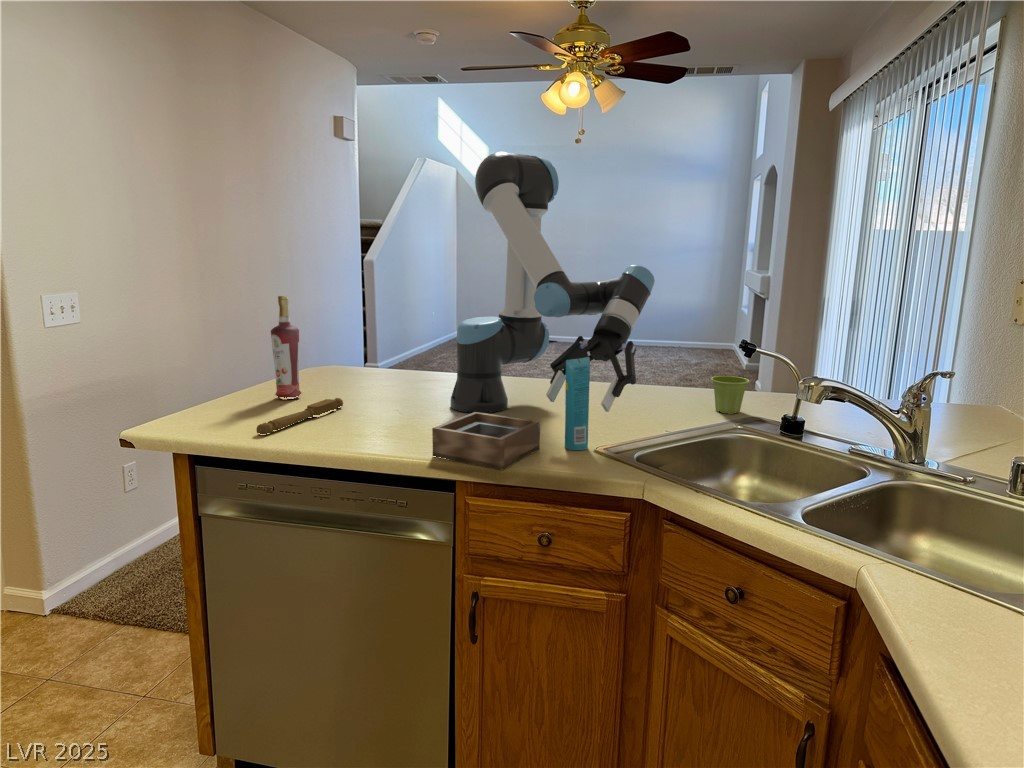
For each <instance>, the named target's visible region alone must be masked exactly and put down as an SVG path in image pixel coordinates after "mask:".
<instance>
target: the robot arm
mask: <svg viewBox="0 0 1024 768" xmlns="http://www.w3.org/2000/svg"><path fill="white" fill-rule="evenodd" d="M558 175H559V174H558V172H557V170H556V168H555V166H554V165H553V163H552V162H551V161H550V160H548V159H546V158H544V157H539V156H537V155H528V154H519V153H511V152H507V151H506V152H505V151H498V152H495V153H494V152H493V153H492V154H490V155H488V156H486V157H485V158H484V159H482V161H481V162H480V164H479V166H478V168H477V170H476V173H475V178H474V179H475V180H474V185H475V191H476V195H477V197H478V199H479V202H480V203H481V205H482V207H483V208H484V210H485V211H486V212H487V213H491V214H492V216H493V217H494V220H495V221H496V223H497V224H498V226H499V228H500V230H501V231H502V233H503V235H504V236H505V238H506V239H507V247H506V248H507V251H506V272H505V273H506V275H505V277H506V278H505V294H504V295H505V297H504V307H503V308H502V309H501V310H500V311H499V312H498V316H491V315H490V316H487V315H485V316H478V317H471V318H467V319H464V320H462V321H461V322H460V323H459V324H457V325H458V326H457V330H456V331H457V332H456V338H455V339H456V381H455V383H454V387H453V390H452V393H451V397H450V408H451V407H452V408H453V410H454V409H455V410H454V411H457V410H459V411H458V412H461V411H463V412H462V413H468V412H470V413H469V414H471V412H472V413H473V412H479V413H486V414H490V413H497V412H501V410H502V411H504V410H506V409H508V407H509V403H508V402H509V400H508V399H509V398H508V395H507V392H506V389H505V386H504V383H503V379H502V366H505V365H511V364H519V363H528V362H531V361H536V360H538V359H540V358H541V357H542V356H543V355H544V354H545V352H546V351H547V349H548V346H549V344H550V332H549V328H548V327H547V324H546V323H545V321H543V320H542V316H543V317H547V318H563V317H570V316H597V315H599V314H601V315H600V318H599V320H598V322H597V323H596V325H595V327H594V329H593V334H592V336H591V338H590V339H586V338H584V337H583V336H582V335H579V336H577V338H576V339H575V341H574V343H572V344H571V346H569V347H568V348H567V349H566V350H565V351H564V352H562V353H561V354H560V355H559V356H558V357H557V358H555V359H554V361H552V362H551V363H550V368H551V370H552V371H553V373H554V374H553V375H552V377H551V379H550V381H549V384H550V386H549V388H548V390H547V391H546V394H545V395H546V397H547V398H548V399H549V401H550V402H551V403H555V401H556V399H557V397H558V395H559V393H560V392H561V389H562V388H563V385H564V383H566V360H571V359H580V358H585V357H589V358H590V362H591V361H593V360H594V361H603V362H608V361H610V362H611V365H612V367H613V369H614V372H615V374H616V378H615V377H613V378H612V380H611V382H610V384H609V386H608V389H607V391H606V393H605V395H604V397H603V399H602V400H601V403H600V405H601V406H602V407H603V408H602V409H604V411H605V412H606V413H609V412H610V410H611V408H612V406H613V403H614V402H615V400H616V398H619V397H620V396H621V394H622V393H623V390H624V388H625V387H626V386H627V385H635V384H636V383H637V377H636V376H637V375H636V364H635V355H636V352H637V347H636V346H635V344H634V342H633V341H632V340H629V341H628V339H629V337H630V336H631V333H632V331H633V329H634V327H635V325H636V324H637V321H638V319H639V318H640V315H641V313H642V311H643V309H644V307H645V305H646V303H647V301H648V299H649V297H650V296H651V294H652V293H651V292H652V290H653V288H654V286H655V285H654V284H655V276H654V274H653V273H652V272H651V270H649V268H647V267H645V266H643V265H641V264H631V265H629V266H627V267H626V268H625V270H624V271H622V273H621V276H619V277H614V278H610V279H606V280H600V281H578V282H577V281H575V282H574V281H573V282H572V281H570V279H569V278H568V275H567V274H566V272H565V271H564V270H563V268H562V266H561V264H560V263H559V261H558V260H557V258H556V255H555V254H554V253H553V251H552V249H551V248H550V246H549V244H548V243H547V241H546V240H545V238H544V236H543V235H542V233H541V232H542V217H543V216H545V214H546V213H547V212H548V209H549V204H550V203H551V202H553V200H554V199H555V196H556V195H557V194H558V191H559V182H560V181H559V176H558ZM588 352H589V354H588ZM622 352H624V357H625V359H624V360H625V369H626V374H624V372H623V369H622V366H621V365H620V362H619V359H618V355H619V354H620V353H622ZM452 408H451V409H452ZM496 411H497V412H496ZM489 412H490V413H489Z"/></svg>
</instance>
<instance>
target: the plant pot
mask: <svg viewBox="0 0 1024 768" xmlns="http://www.w3.org/2000/svg"><path fill="white" fill-rule="evenodd" d="M710 380H711V381H712V385H713V392H714V406H715V407H714V408H715V411H716V412H717V411H718V412H719V411H720V413H722V414H724V413H728V414H727V415H733V414H734V413H735V414H739V413H741V407H742V403H743V401H744V400H743V399H744V395H745V392H746V389H747V386H748V383H750V380H749V379H748V378H745V377H740V376H732V375H716V376H712V377H711V378H710ZM718 412H717V413H718Z"/></svg>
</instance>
